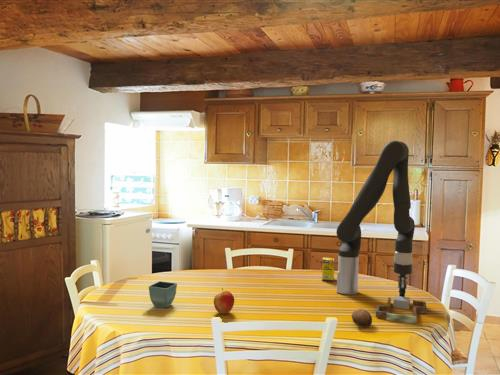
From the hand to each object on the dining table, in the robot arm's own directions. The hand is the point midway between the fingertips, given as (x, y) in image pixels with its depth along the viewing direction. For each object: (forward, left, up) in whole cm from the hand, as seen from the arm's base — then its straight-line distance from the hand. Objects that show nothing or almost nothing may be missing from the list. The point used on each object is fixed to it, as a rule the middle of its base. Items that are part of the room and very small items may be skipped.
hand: (401, 301), depth 194 cm
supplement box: (-36, +25, -1) cm, 44 cm away
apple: (-67, -40, -1) cm, 78 cm away
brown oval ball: (-14, -34, -1) cm, 37 cm away
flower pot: (-94, -41, -1) cm, 103 cm away
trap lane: (0, -14, 0) cm, 14 cm away
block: (0, -5, -1) cm, 5 cm away
